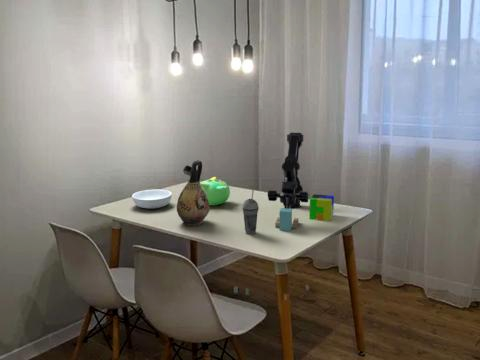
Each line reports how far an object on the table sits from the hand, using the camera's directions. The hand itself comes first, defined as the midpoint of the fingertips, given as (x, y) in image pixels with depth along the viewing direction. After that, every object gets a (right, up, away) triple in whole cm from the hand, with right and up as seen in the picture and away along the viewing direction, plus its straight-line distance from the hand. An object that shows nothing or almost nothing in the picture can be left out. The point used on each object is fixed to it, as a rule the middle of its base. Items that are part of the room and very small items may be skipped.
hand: (286, 212), depth 220 cm
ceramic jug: (-43, -6, +10) cm, 44 cm away
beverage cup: (-17, -9, -6) cm, 20 cm away
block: (-1, -8, -1) cm, 8 cm away
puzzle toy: (+19, -4, +16) cm, 25 cm away
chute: (+1, -6, +4) cm, 8 cm away
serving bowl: (-68, 0, +38) cm, 78 cm away
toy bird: (-36, +1, +39) cm, 53 cm away
